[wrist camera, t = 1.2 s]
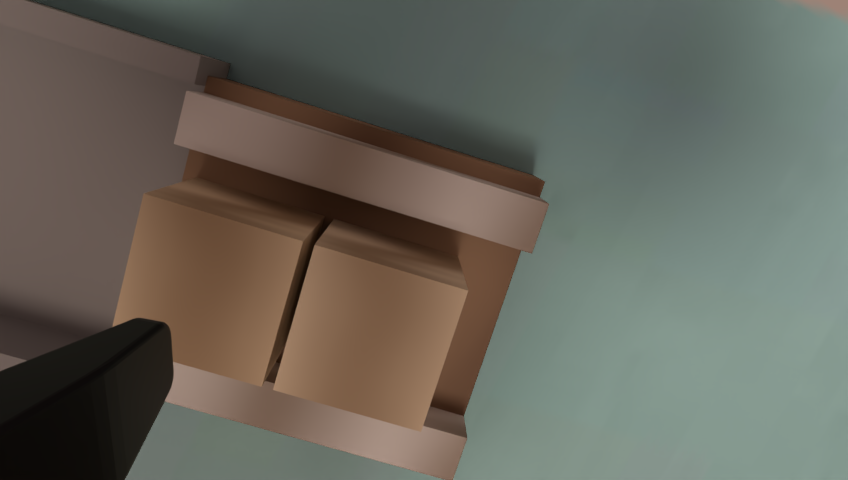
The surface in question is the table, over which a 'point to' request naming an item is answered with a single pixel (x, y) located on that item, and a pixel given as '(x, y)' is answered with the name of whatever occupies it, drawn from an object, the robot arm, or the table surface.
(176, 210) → the light brown cube
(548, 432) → the table surface
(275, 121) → the slot board
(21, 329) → the tray
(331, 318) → the brown wooden cube
